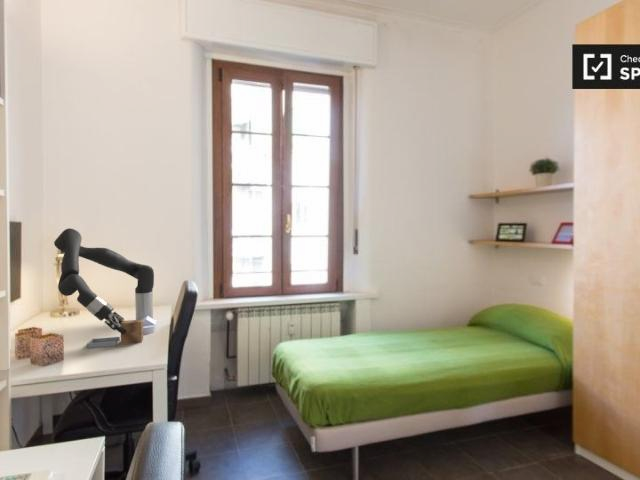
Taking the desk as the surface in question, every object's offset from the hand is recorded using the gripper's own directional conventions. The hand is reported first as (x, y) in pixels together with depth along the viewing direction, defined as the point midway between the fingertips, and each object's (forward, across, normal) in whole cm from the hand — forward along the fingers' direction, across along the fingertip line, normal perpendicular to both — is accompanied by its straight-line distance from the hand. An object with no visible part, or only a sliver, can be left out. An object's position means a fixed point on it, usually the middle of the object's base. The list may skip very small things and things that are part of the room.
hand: (126, 330), depth 181 cm
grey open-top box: (-3, 0, -11) cm, 11 cm away
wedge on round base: (+9, -19, 0) cm, 21 cm away
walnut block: (+6, 0, -2) cm, 6 cm away
